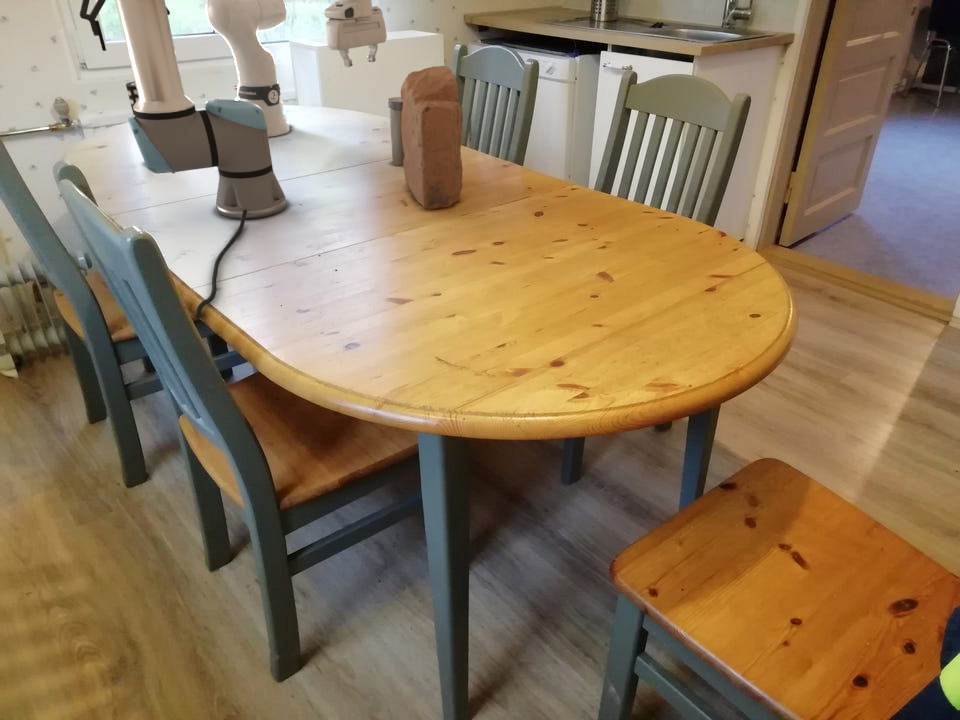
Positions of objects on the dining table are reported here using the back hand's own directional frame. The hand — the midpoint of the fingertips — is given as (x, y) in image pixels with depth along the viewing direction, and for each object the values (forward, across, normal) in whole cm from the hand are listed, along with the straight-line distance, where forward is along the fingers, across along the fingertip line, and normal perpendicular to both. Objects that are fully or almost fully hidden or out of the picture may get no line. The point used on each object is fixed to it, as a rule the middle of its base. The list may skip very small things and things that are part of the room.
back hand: (360, 64), depth 191 cm
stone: (+23, +23, +42) cm, 53 cm away
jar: (+22, +8, +20) cm, 31 cm away
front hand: (-6, +44, -36) cm, 57 cm away
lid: (+6, +8, +20) cm, 22 cm away
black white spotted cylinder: (+11, +46, -33) cm, 57 cm away
